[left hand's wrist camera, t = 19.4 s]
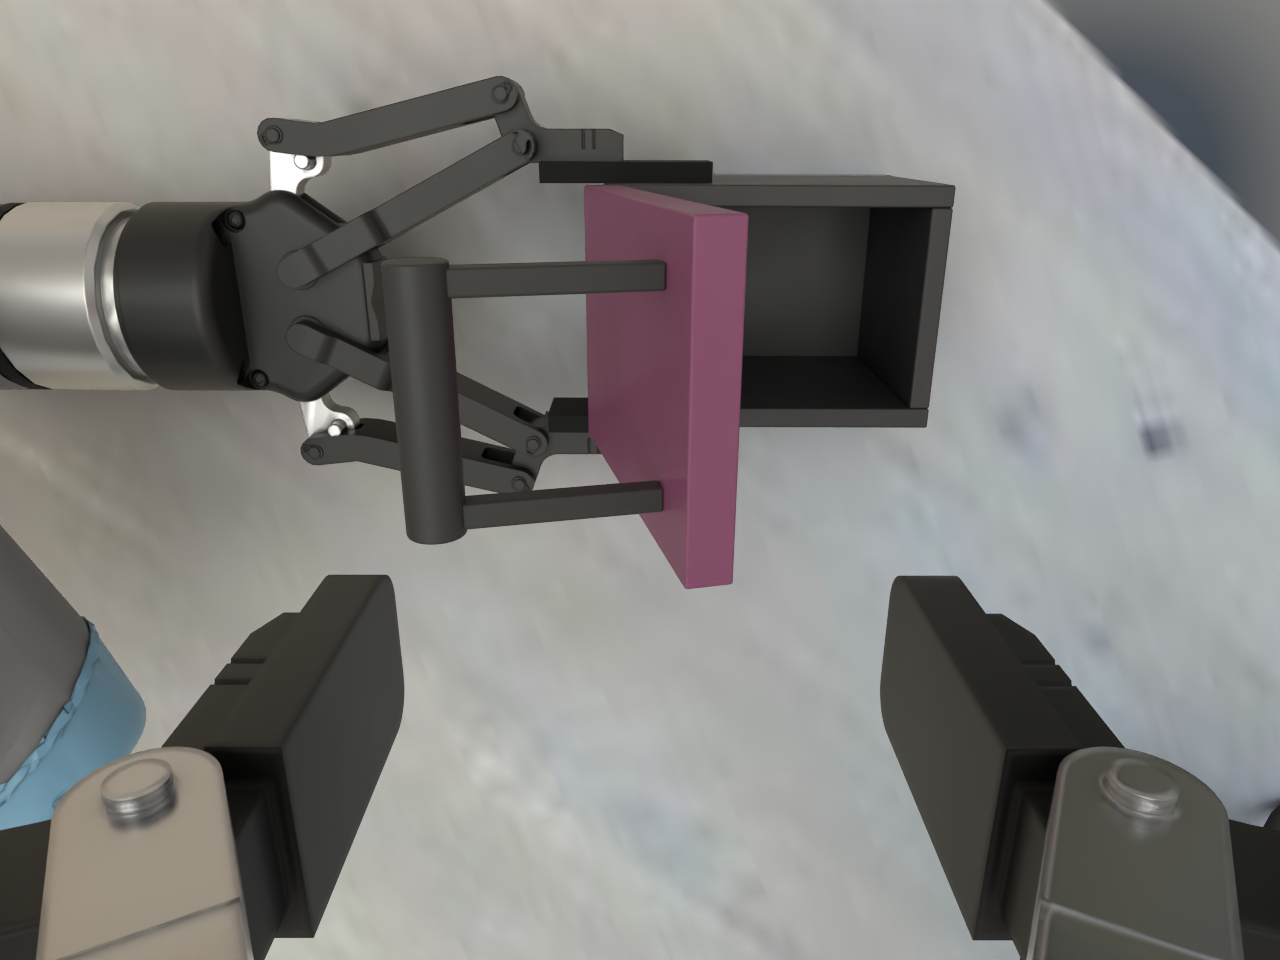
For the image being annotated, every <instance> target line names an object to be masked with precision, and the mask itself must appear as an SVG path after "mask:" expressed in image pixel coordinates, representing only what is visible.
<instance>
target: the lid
mask: <svg viewBox="0 0 1280 960" xmlns="http://www.w3.org/2000/svg"><path fill="white" fill-rule="evenodd" d="M584 197H585V253H586V261H580V262H542V263H505V264H468V265H449V262H448V261H447V260H445V259H442V258H434V257H406V258H395V259H389V260H385V261H383V262H381V274H382V284H383V294H384V305H385V315H386V325H387V336H388V346H389V356H390V367H391V377H392V388H393V398H394V408H395V419H396V429H397V439H398V450H399V460H400V470H401V481H402V491H403V501H404V512H405V522H406V532H407V536H408V538H409V539H410V540H412V541H414V542H416V543H420V544H430V545H431V544H443V543H448V542H452V541H455V540H457V539H460V538H461V537H463V536H464V535H465V534H466V532H467V529H476V528H487V527H498V526H509V525H520V524H531V523H542V522H553V521H564V520H575V519H586V518H597V517H608V516H619V515H630V514H639V515H640V516H641V518H642V520H643V521H644V523H645V524H646V526H647V528H648V529H649V531H650V533H651V534H652V536H653V537H654V539H655V541H656V542H657V544H658V546H659V547H660V549H661V550H662V552H663V554H664V555H665V557H666V558H667V560H668V562H669V563H670V565H671V567H672V568H673V570H674V571H675V573H676V575H677V576H678V578H679V580H680V581H681V583H682V584H683V586H684V588H686V589H692V588H701V587H710V586H719V585H728V584H732V582H733V560H734V538H735V515H736V492H737V470H738V447H739V424H740V402H741V379H742V356H743V334H744V311H745V288H746V266H747V243H748V220H749V217H748V214H746V213H742V212H737V211H733V210H728V209H724V208H719V207H715V206H710V205H706V204H701V203H697V202H692V201H688V200H683V199H679V198H674V197H670V196H665V195H660V194H656V193H651V192H647V191H642V190H638V189H633V188H629V187H624V186H620V185H586V186H585V187H584ZM562 294H586V310H587V366H588V422H589V434H590V435H591V437H592V439H593V440H594V442H595V443H596V445H597V447H598V448H599V450H600V452H601V453H602V455H603V456H604V458H605V460H606V461H607V463H608V465H609V466H610V468H611V469H612V471H613V473H614V474H615V476H616V478H617V479H618V481H619V482H620V483H618V484H606V485H594V486H582V487H569V488H557V489H545V490H533V491H521V492H509V493H497V494H485V495H473V496H465V486H464V472H463V458H462V443H461V429H460V415H459V401H458V387H457V372H456V358H455V344H454V330H453V316H452V301H451V298H476V297H504V296H533V295H562Z"/></svg>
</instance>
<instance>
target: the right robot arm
mask: <svg viewBox="0 0 1280 960" xmlns="http://www.w3.org/2000/svg"><path fill="white" fill-rule="evenodd" d="M492 118H495V120H496V123H497V125H498V128H499V130H500V133H501V135H502V137H500V138H499V139H497V140H495V141H493V142H492V143H490V144H488V145H486V146H485V147H483V148H481V149H479V150H477V151H476V152H474V153H472V154H470V155H469V156H467V157H465V158H463V159H462V160H460V161H458V162H456V163H455V164H453V165H451V166H449V167H447V168H446V169H444V170H442V171H440V172H439V173H437V174H435V175H433V176H432V177H430V178H428V179H426V180H424V181H423V182H421V183H419V184H417V185H416V186H414V187H412V188H410V189H409V190H407V191H405V192H403V193H401V194H400V195H398V196H396V197H394V198H393V199H391V200H389V201H387V202H386V203H384V204H382V205H380V206H378V207H377V208H375V209H373V210H371V211H369V212H367V213H365V214H363V215H361V216H359V217H357V218H355V219H354V220H352V221H350V222H348V223H347V222H346V221H344V220H343V219H342V218H340V217H339V216H337V215H336V214H334V213H333V212H331V211H330V210H329V209H327V208H326V207H324V206H323V205H321V204H320V203H318V202H317V201H316V200H314V199H313V198H311V197H310V196H308V195H307V194H305V193H304V188H305V185H306V183H307V181H308V180H309V179H311V178H313V177H317V176H322V175H324V174H326V173H327V172H328V171H329V169H330V167H331V156H342V155H352V154H357V153H362V152H366V151H370V150H374V149H377V148H381V147H385V146H389V145H393V144H397V143H400V142H404V141H408V140H412V139H416V138H419V137H423V136H427V135H431V134H435V133H439V132H442V131H446V130H450V129H454V128H458V127H462V126H465V125H469V124H473V123H477V122H481V121H485V120H488V119H492ZM257 135H258V139H259V141H260V143H261V144H262V146H263V147H264V148H266V149H267V150H269V151H270V185H271V191H269V192H267V193H265V194H263V195H262V196H260V197H259V198H257V199H255V200H253V201H250V202H152V203H148V204H146V205H144V206H142V207H140V206H138V205H135V204H133V203H131V202H27V203H8V204H0V389H71V390H145V391H148V390H151V389H154V388H158V387H159V386H162V387H164V388H166V389H170V390H270V391H275V392H278V393H281V394H283V395H285V396H287V397H289V398H291V399H293V400H296V401H299V403H300V407H301V411H302V415H303V419H304V423H305V427H306V431H307V435H308V439H307V440H306V441H305V442H304V443H303V444H302V446H301V454H302V456H303V458H304V459H305V460H306V461H307V462H308V463H310V464H312V465H325V464H334V463H344V462H353V461H359V462H364V463H368V464H372V465H377V466H381V467H386V468H390V469H395V470H399V471H401V470H400V460H399V450H398V439H397V429H396V422H391V421H387V420H381V419H371V418H361V419H360V418H359V415H358V414H357V412H356V411H355V410H354V409H352V408H350V407H345V406H340V405H338V404H336V403H335V402H333V400H332V399H331V398H330V395H329V392H330V391H331V390H332V389H334V388H335V387H336V386H338V385H339V384H340V383H342V382H343V381H344V380H345V379H347V378H348V377H349V376H351V377H353V378H356V379H358V380H360V381H362V382H364V383H366V384H368V385H370V386H372V387H374V388H377V389H380V390H384V391H392V392H393V388H392V377H391V367H390V356H389V346H388V336H387V325H386V315H385V305H384V294H383V284H382V274H381V262H383V261H385V260H386V257H382V256H381V253H380V251H379V249H378V248H379V247H381V246H382V245H384V244H386V243H388V242H390V241H391V240H393V239H395V238H397V237H399V236H400V235H402V234H404V233H405V232H407V231H409V230H410V229H412V228H414V227H416V226H418V225H419V224H421V223H423V222H425V221H427V220H428V219H430V218H432V217H434V216H436V215H437V214H439V213H441V212H443V211H444V210H446V209H448V208H450V207H452V206H453V205H455V204H457V203H459V202H461V201H462V200H464V199H466V198H468V197H470V196H471V195H473V194H475V193H477V192H479V191H480V190H482V189H484V188H486V187H488V186H489V185H491V184H493V183H495V182H497V181H498V180H500V179H502V178H504V177H506V176H507V175H509V174H511V173H513V172H514V171H516V170H518V169H520V168H522V167H523V166H525V165H527V164H529V163H539V177H540V183H606V182H651V183H712V170H713V162H711V161H706V160H623V134H620V133H618V132H616V131H613V130H611V129H546V128H543V127H541V126H540V125H538V124H537V123H536V122H535V120H534V119H533V117H532V115H531V112H530V110H529V107H528V104H527V102H526V99H525V95H524V91H523V89H522V87H521V86H520V85H519V84H518V83H517V82H515V81H513V80H511V79H509V78H506V77H503V76H496V77H492V78H488V79H484V80H481V81H477V82H473V83H469V84H466V85H462V86H458V87H454V88H450V89H447V90H443V91H439V92H435V93H432V94H428V95H424V96H420V97H416V98H413V99H409V100H405V101H401V102H398V103H394V104H390V105H386V106H383V107H379V108H375V109H371V110H367V111H364V112H360V113H356V114H352V115H349V116H345V117H341V118H337V119H334V120H330V121H326V122H314V121H306V120H298V119H283V118H267V119H265V120H263V121H262V122H261V123H260V125H259V126H258V131H257ZM457 387H458V401H459V415H460V424H462V425H464V426H466V427H468V428H470V429H472V430H474V431H476V432H478V433H480V434H483V435H485V436H487V437H489V438H491V439H493V440H495V441H497V442H499V443H501V444H503V445H506V446H508V447H510V448H512V449H510V448H505V447H501V446H497V445H492V444H488V443H483V442H479V441H475V440H470V439H466V438H462V437H461V443H462V458H463V472H464V485H466V486H471V487H475V488H480V489H484V490H489V491H493V492H498V493H509V492H521V491H532V489H533V487H534V484H535V481H536V478H537V475H538V472H539V469H540V467H541V464H542V462H543V461H544V460H545V459H546V458H547V457H549V456H551V455H553V454H602V453H601V452H600V450H599V448H598V447H597V445H596V443H595V442H594V440H593V439H592V437H591V435H590V434H589V422H588V398H554V399H553V402H552V405H551V408H550V411H549V412H548V411H546V413H545V415H543V414H541V413H539V412H537V411H535V410H533V409H531V408H529V407H527V406H525V405H523V404H521V403H519V402H517V401H515V400H513V399H511V398H509V397H507V396H504V395H502V394H500V393H498V392H496V391H494V390H492V389H490V388H488V387H486V386H484V385H482V384H480V383H478V382H476V381H474V380H472V379H470V378H468V377H466V376H464V375H461V374H459V373H457ZM145 722H146V708H145V705H144V702H143V700H142V698H141V696H140V694H139V693H138V692H137V690H136V689H135V688H134V686H133V685H132V683H131V682H130V681H129V679H128V678H127V676H126V675H125V673H124V672H123V671H122V669H121V668H120V666H119V665H118V663H117V662H116V661H115V659H114V658H113V656H112V655H111V653H110V652H109V651H108V649H107V648H106V646H105V645H104V643H103V642H102V641H101V639H100V638H99V634H98V632H97V631H96V629H95V626H94V624H92V623H91V622H90V621H88V620H87V619H86V618H85V617H81V616H80V615H79V614H78V613H77V612H76V611H75V610H74V608H73V607H72V606H71V605H70V604H69V603H68V602H67V600H66V599H65V598H64V597H63V596H62V595H61V594H60V592H59V591H58V590H57V589H56V588H55V587H54V586H53V584H52V583H51V582H50V581H49V580H48V579H47V578H46V576H45V575H44V574H43V573H42V572H41V571H40V570H39V568H38V567H37V566H36V565H35V564H34V563H33V562H32V560H31V559H30V558H29V557H28V556H27V555H26V554H25V552H24V551H23V550H22V549H21V548H20V547H19V546H18V544H17V543H16V542H15V541H14V540H13V539H12V538H11V536H10V535H9V534H8V533H7V532H6V531H5V530H4V528H3V527H2V526H1V525H0V830H4V829H9V828H13V827H18V826H23V825H28V824H32V823H37V822H42V821H46V820H50V819H52V815H53V812H54V809H55V807H56V806H57V804H58V802H59V801H60V799H61V798H62V797H63V796H64V794H65V793H66V792H67V791H68V790H69V789H70V788H71V787H72V786H73V785H74V784H76V783H77V782H78V781H80V780H81V779H82V778H84V777H85V776H86V775H88V774H90V773H91V772H93V771H95V770H96V769H98V768H100V767H102V766H104V765H106V764H108V763H110V762H112V761H114V760H117V759H119V758H122V757H124V756H127V755H129V754H130V753H131V752H132V750H133V749H134V747H135V746H136V744H137V743H138V741H139V739H140V737H141V735H142V732H143V730H144V727H145Z"/></svg>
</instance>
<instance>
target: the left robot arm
mask: <svg viewBox="0 0 1280 960" xmlns="http://www.w3.org/2000/svg"><path fill="white" fill-rule="evenodd" d="M880 699H881V710H882V717H883V722H884V726H885V729H886V732H887V735H888V737H889V740H890V742H891V744H892V747H893V749H894V752H895V754H896V756H897V759H898V761H899V764H900V766H901V768H902V771H903V773H904V776H905V778H906V780H907V783H908V785H909V788H910V790H911V793H912V795H913V797H914V800H915V802H916V805H917V807H918V809H919V812H920V814H921V817H922V819H923V821H924V824H925V826H926V829H927V831H928V833H929V836H930V838H931V841H932V843H933V845H934V848H935V850H936V853H937V855H938V857H939V860H940V862H941V865H942V867H943V869H944V872H945V874H946V877H947V879H948V882H949V884H950V886H951V889H952V891H953V894H954V896H955V898H956V901H957V903H958V906H959V908H960V910H961V913H962V915H963V918H964V920H965V922H966V925H967V927H968V930H969V932H970V934H971V937H972V939H973V940H1013V942H1014V944H1015V946H1016V949H1017V951H1018V953H1019V955H1020V960H1280V805H1279V806H1278V807H1276V808H1275V809H1274V810H1273V811H1272V813H1271V814H1270V816H1269V817H1268V819H1267V821H1266V823H1265V825H1264V826H1263V827H1259V826H1254V825H1249V824H1245V823H1241V822H1237V821H1233V820H1230V819H1228V815H1227V812H1226V809H1225V807H1224V806H1223V804H1222V802H1221V801H1220V799H1219V798H1218V797H1217V796H1216V794H1215V793H1214V792H1213V791H1212V790H1211V789H1210V788H1209V787H1208V786H1207V785H1206V784H1204V783H1203V782H1202V781H1200V780H1199V779H1198V778H1196V777H1195V776H1194V775H1192V774H1190V773H1189V772H1187V771H1185V770H1184V769H1182V768H1180V767H1178V766H1176V765H1174V764H1172V763H1170V762H1168V761H1166V760H1163V759H1161V758H1158V757H1156V756H1153V755H1149V754H1146V753H1143V752H1139V751H1135V750H1130V749H1125V747H1124V746H1123V745H1122V744H1121V742H1120V741H1119V740H1118V739H1117V737H1116V736H1115V735H1114V734H1113V732H1112V731H1111V730H1110V729H1109V727H1108V726H1107V725H1106V724H1105V722H1104V721H1103V720H1102V719H1101V717H1100V716H1099V715H1098V714H1097V712H1096V711H1095V710H1094V709H1093V707H1092V706H1091V705H1090V704H1089V702H1088V701H1087V700H1086V698H1085V697H1084V696H1083V695H1082V693H1081V692H1080V691H1079V690H1078V688H1077V687H1076V686H1072V684H1071V680H1070V678H1069V677H1068V676H1067V675H1066V673H1065V672H1064V671H1063V670H1062V668H1061V667H1060V666H1059V665H1055V660H1054V658H1053V657H1052V656H1051V655H1050V653H1049V652H1048V651H1047V650H1046V648H1045V647H1044V646H1043V645H1042V643H1041V642H1040V641H1039V640H1038V638H1037V637H1036V636H1035V635H1034V634H1032V633H1031V632H1029V631H1028V630H1026V629H1025V628H1023V627H1021V626H1020V625H1018V624H1017V623H1015V622H1014V621H1012V620H1010V619H1009V618H1007V617H1006V616H1004V615H1003V614H986V613H985V612H984V611H983V609H982V608H981V607H980V605H979V604H978V602H977V601H976V600H975V598H974V597H973V596H972V594H971V593H970V591H969V590H968V589H967V587H966V586H965V585H964V583H963V582H962V580H961V579H960V578H959V577H957V576H897V577H896V578H895V580H894V582H893V584H892V588H891V593H890V600H889V610H888V619H887V628H886V637H885V646H884V655H883V664H882V673H881V684H880ZM403 705H404V676H403V667H402V658H401V648H400V639H399V630H398V620H397V611H396V602H395V594H394V588H393V584H392V581H391V579H390V577H389V576H388V575H328V576H326V577H325V578H324V580H323V581H322V582H321V584H320V585H319V587H318V588H317V589H316V591H315V592H314V594H313V595H312V596H311V598H310V599H309V601H308V602H307V603H306V605H305V606H304V607H303V609H302V610H301V612H300V613H283V614H281V615H279V616H278V617H276V618H275V619H273V620H272V621H270V622H268V623H267V624H265V625H264V626H262V627H261V628H259V629H257V630H256V631H254V632H253V633H251V634H250V635H249V637H248V638H247V639H246V640H245V642H244V643H243V644H242V645H241V647H240V648H239V649H238V650H237V652H236V653H235V654H234V656H233V657H232V658H231V664H226V666H225V667H224V668H223V670H222V671H221V672H220V673H219V675H218V676H217V677H216V678H215V684H214V685H210V686H209V687H208V689H207V690H206V691H205V692H204V694H203V695H202V696H201V697H200V699H199V700H198V701H197V703H196V704H195V705H194V706H193V708H192V709H191V710H190V711H189V713H188V714H187V715H186V716H185V718H184V719H183V720H182V722H181V723H180V724H179V725H178V727H177V728H176V729H175V730H174V732H173V733H172V734H171V736H170V737H169V738H168V739H167V741H166V742H165V743H164V744H163V746H162V747H161V748H155V749H150V750H145V751H141V752H137V753H134V754H131V755H127V756H124V757H122V758H119V759H117V760H114V761H112V762H110V763H108V764H106V765H104V766H102V767H100V768H98V769H96V770H95V771H93V772H91V773H90V774H88V775H86V776H85V777H84V778H82V779H81V780H80V781H78V782H77V783H76V784H74V785H73V786H72V787H71V788H70V789H69V790H68V791H67V792H66V793H65V794H64V796H63V797H62V798H61V799H60V801H59V802H58V804H57V806H56V807H55V809H54V812H53V815H52V819H50V820H46V821H42V822H37V823H32V824H28V825H23V826H18V827H13V828H9V829H4V830H0V960H264V959H265V957H266V955H267V953H268V951H269V948H270V946H271V944H272V942H273V940H274V938H314V936H315V933H316V931H317V928H318V926H319V923H320V921H321V919H322V916H323V914H324V911H325V909H326V906H327V904H328V901H329V899H330V897H331V894H332V892H333V889H334V887H335V884H336V882H337V879H338V877H339V875H340V872H341V870H342V867H343V865H344V862H345V860H346V857H347V855H348V853H349V850H350V848H351V845H352V843H353V840H354V838H355V835H356V833H357V831H358V828H359V826H360V823H361V821H362V818H363V816H364V813H365V811H366V808H367V806H368V804H369V801H370V799H371V796H372V794H373V791H374V789H375V786H376V784H377V782H378V779H379V777H380V774H381V772H382V769H383V767H384V764H385V762H386V760H387V757H388V755H389V752H390V750H391V747H392V745H393V742H394V740H395V738H396V735H397V733H398V730H399V727H400V723H401V719H402V713H403Z"/></svg>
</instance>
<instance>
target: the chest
mask: <svg viewBox="0 0 1280 960" xmlns="http://www.w3.org/2000/svg"><path fill="white" fill-rule="evenodd" d="M604 185H620V186H624V187H629V188H633V189H638V190H642V191H647V192H651V193H656V194H660V195H665V196H670V197H674V198H679V199H683V200H688V201H692V202H697V203H701V204H706V205H710V206H715V207H719V208H724V209H728V210H733V211H737V212H742V213H746V214H748V217H749V220H748V243H747V266H746V288H745V311H744V334H743V356H742V379H741V402H740V424H739V427H926V426H927V419H928V409H927V408H928V407H929V401H930V393H931V384H932V376H933V368H934V360H935V351H936V343H937V335H938V326H939V318H940V310H941V302H942V293H943V285H944V277H945V269H946V260H947V252H948V244H949V235H950V227H951V219H952V211H953V210H952V208H951V207H953V203H954V195H955V186H954V185H948V184H941V183H934V182H927V181H920V180H914V179H907V178H900V177H893V176H890V175H773V174H712V183H651V182H606V183H605V184H604Z"/></svg>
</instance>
